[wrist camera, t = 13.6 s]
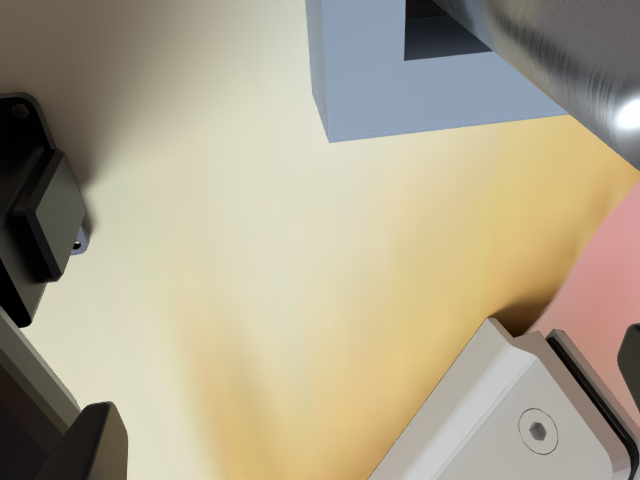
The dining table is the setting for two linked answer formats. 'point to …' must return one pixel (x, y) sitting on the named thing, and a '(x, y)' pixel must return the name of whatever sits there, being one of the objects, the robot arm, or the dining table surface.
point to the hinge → (517, 417)
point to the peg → (570, 57)
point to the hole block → (408, 73)
